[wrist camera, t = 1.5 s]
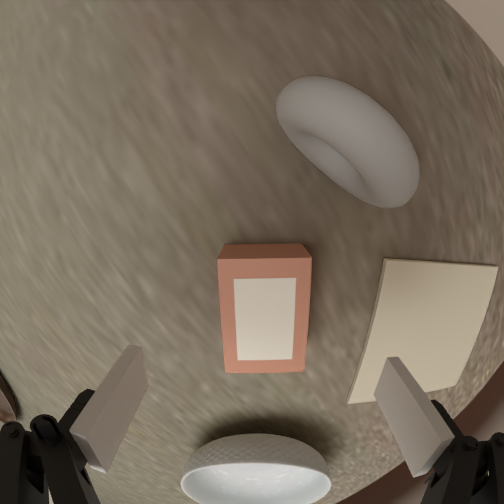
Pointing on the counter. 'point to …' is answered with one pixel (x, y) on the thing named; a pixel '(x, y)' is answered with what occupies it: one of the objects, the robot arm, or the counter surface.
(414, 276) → the mat
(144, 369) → the robot arm
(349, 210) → the counter surface
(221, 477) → the cereal bowl
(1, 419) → the plant saucer
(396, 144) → the donut
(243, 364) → the card box
